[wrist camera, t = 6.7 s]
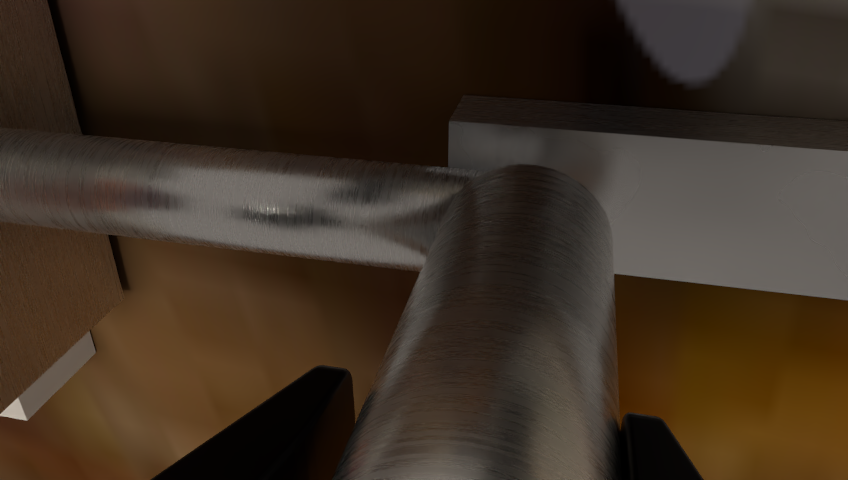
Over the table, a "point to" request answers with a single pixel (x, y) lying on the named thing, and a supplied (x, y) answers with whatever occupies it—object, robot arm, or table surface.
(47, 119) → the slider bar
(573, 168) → the slider rail
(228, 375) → the table surface
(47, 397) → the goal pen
